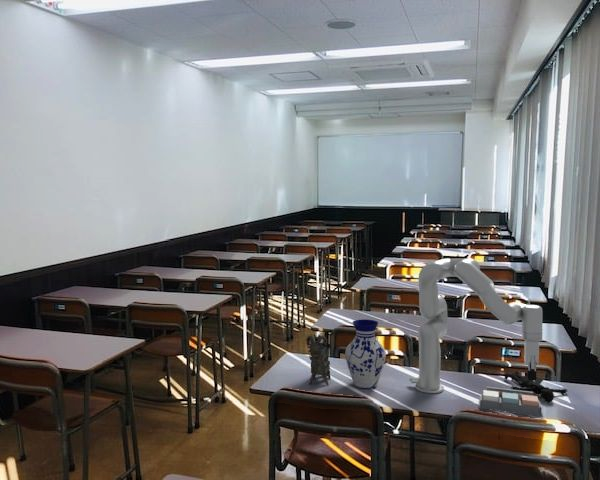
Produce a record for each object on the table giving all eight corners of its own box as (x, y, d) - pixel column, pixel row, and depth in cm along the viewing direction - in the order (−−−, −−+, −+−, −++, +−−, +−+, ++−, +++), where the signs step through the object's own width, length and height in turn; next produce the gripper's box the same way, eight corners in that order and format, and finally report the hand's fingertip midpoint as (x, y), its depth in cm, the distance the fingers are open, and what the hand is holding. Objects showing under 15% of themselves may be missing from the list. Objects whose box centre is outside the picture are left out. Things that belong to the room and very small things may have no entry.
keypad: (479, 408, 213) (479, 394, 212) (479, 398, 223) (480, 385, 223) (542, 416, 204) (542, 402, 204) (540, 405, 215) (540, 392, 214)
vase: (386, 393, 230) (386, 328, 227) (344, 391, 232) (344, 327, 230) (384, 378, 249) (385, 318, 246) (345, 377, 251) (345, 317, 248)
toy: (481, 381, 243) (520, 403, 213) (483, 366, 243) (522, 386, 213) (534, 384, 249) (580, 406, 219) (536, 369, 248) (582, 390, 219)
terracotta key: (522, 406, 208) (522, 399, 207) (521, 401, 213) (521, 394, 213) (538, 408, 206) (538, 401, 205) (537, 403, 211) (537, 396, 211)
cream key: (483, 402, 213) (483, 395, 213) (483, 396, 219) (483, 389, 218) (498, 403, 211) (498, 396, 211) (498, 398, 216) (498, 391, 216)
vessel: (305, 391, 233) (302, 338, 233) (313, 376, 258) (311, 328, 257) (328, 391, 231) (326, 337, 231) (334, 376, 256) (332, 327, 256)
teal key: (502, 404, 210) (502, 397, 210) (502, 399, 216) (502, 392, 216) (518, 406, 208) (518, 399, 208) (517, 400, 214) (517, 393, 214)
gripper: (521, 330, 215) (520, 372, 216) (523, 339, 201) (522, 385, 203) (540, 331, 212) (540, 374, 214) (544, 341, 199) (543, 386, 200)
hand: (531, 379), depth 208 cm, fingers closed
